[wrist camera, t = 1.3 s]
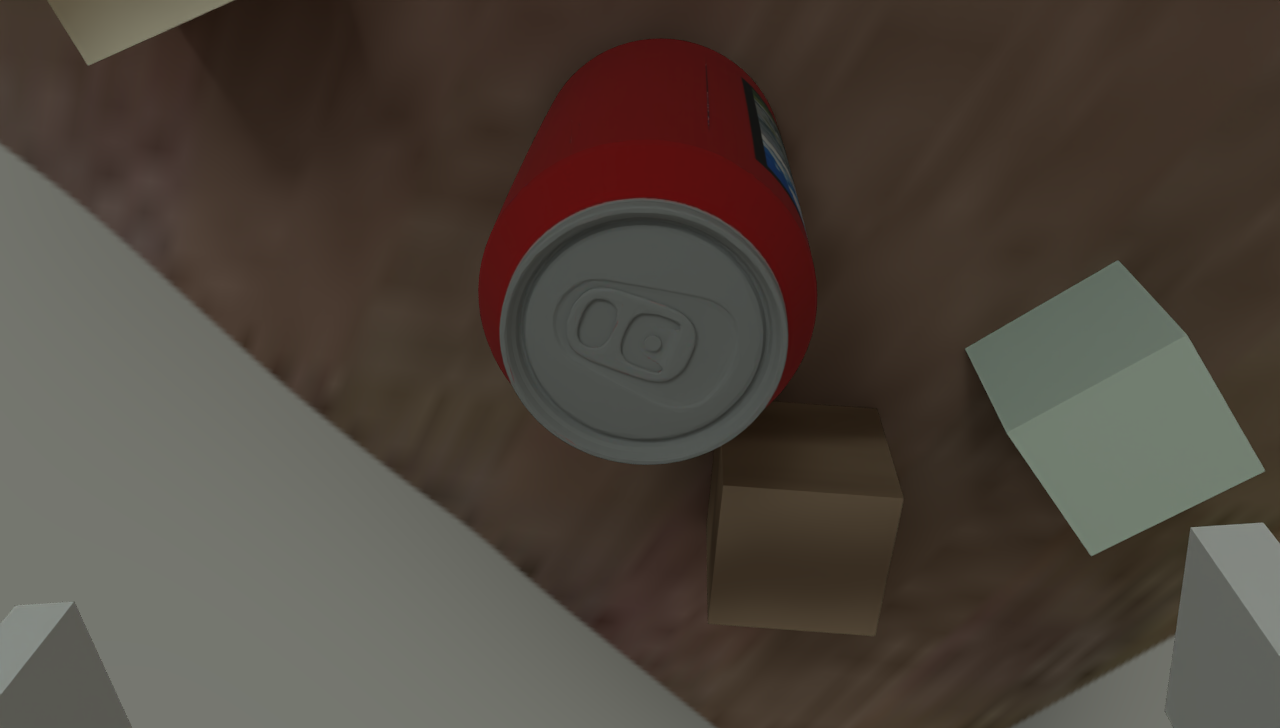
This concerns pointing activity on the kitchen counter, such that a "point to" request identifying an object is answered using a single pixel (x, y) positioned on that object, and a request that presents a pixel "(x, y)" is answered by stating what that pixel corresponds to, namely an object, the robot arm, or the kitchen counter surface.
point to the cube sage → (1112, 408)
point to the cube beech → (123, 21)
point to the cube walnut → (802, 521)
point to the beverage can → (651, 258)
